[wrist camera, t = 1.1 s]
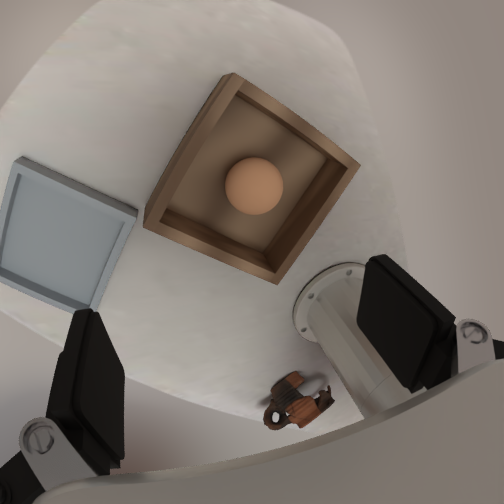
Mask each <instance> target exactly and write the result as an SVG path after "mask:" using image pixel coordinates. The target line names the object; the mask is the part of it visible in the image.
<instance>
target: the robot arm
mask: <svg viewBox="0 0 504 504" xmlns="http://www.w3.org/2000/svg"><path fill="white" fill-rule="evenodd" d="M455 318H456V317H455V316H454V315H453V314H452V313H451V312H450V311H449V310H448V309H446V308H445V307H444V306H443V305H442V304H441V303H440V302H439V301H438V300H437V299H436V298H435V297H434V296H432V295H431V294H430V293H429V292H428V291H427V290H426V289H425V288H424V287H423V286H422V285H420V284H419V283H418V282H417V281H416V280H415V279H413V277H411V276H410V275H409V274H408V273H407V272H406V271H405V270H404V269H402V268H401V267H400V266H399V265H398V264H397V263H395V262H394V261H393V260H392V259H391V258H390V257H388V256H387V255H386V254H382V255H378V256H373V257H371V258H370V259H369V262H367V263H366V265H365V266H363V265H360V264H357V263H346V264H340V265H337V266H334V267H332V268H330V269H328V270H326V271H324V272H322V273H321V274H320V275H318V276H317V277H315V278H314V279H313V280H312V281H311V282H310V283H309V284H308V285H307V286H306V288H305V289H304V290H303V291H302V293H301V294H300V296H299V298H298V299H297V302H296V304H295V307H294V312H293V321H294V324H295V327H296V329H297V331H298V333H299V334H300V335H301V336H302V337H303V338H305V339H306V340H308V341H311V342H316V343H319V344H320V346H321V347H322V349H323V351H324V352H325V354H326V356H327V357H328V359H329V361H330V362H331V364H332V366H333V367H334V369H335V371H336V372H337V374H338V376H339V377H340V379H341V380H342V382H343V384H344V385H345V387H346V389H347V390H348V392H349V394H350V395H351V397H352V399H353V400H354V402H355V404H356V405H357V407H358V409H359V410H360V412H361V414H362V415H363V417H364V420H361V421H359V422H356V423H354V424H351V425H349V426H346V427H343V428H341V429H338V430H335V431H332V432H329V433H326V434H324V435H321V436H318V437H315V438H311V439H308V440H305V441H302V442H299V443H296V444H292V445H288V446H285V447H282V448H278V449H274V450H270V451H266V452H262V453H258V454H254V455H250V456H245V457H241V458H236V459H232V460H226V461H221V462H216V463H210V464H204V465H198V466H191V467H184V468H176V469H169V470H160V471H151V472H140V473H127V474H116V475H110V469H113V468H120V460H123V459H124V456H125V453H124V384H125V373H124V369H123V366H122V364H121V362H120V360H119V358H118V355H117V353H116V351H115V349H114V347H113V345H112V342H111V340H110V338H109V336H108V333H107V331H106V329H105V326H104V324H103V322H102V319H101V317H100V315H99V313H98V312H94V311H93V310H92V309H91V308H88V309H81V310H76V311H75V312H74V314H73V318H72V321H71V325H70V328H69V332H68V335H67V339H66V342H65V346H64V350H63V352H61V353H60V355H59V358H58V361H57V365H56V369H55V373H54V378H53V382H52V387H51V391H50V396H49V401H48V406H47V412H46V417H45V418H44V417H39V418H34V419H32V420H31V421H29V422H28V423H27V424H26V425H25V426H24V427H23V428H22V430H21V432H20V436H19V446H20V449H21V451H20V452H18V453H17V454H16V455H15V456H14V457H13V458H11V459H10V460H9V461H8V462H7V463H6V464H4V465H3V466H2V467H1V468H0V504H504V342H502V341H498V340H494V339H492V336H491V333H490V330H489V329H488V328H487V327H486V326H485V325H484V324H483V323H481V322H479V321H477V320H474V319H464V320H461V321H460V322H459V323H458V324H457V326H456V325H455V324H454V321H455Z"/></svg>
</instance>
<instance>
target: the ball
mask: <svg viewBox="0 0 504 504" xmlns="http://www.w3.org/2000/svg"><path fill="white" fill-rule="evenodd" d="M225 191H226V195H227V198H228V200H229V201H230V203H231V204H232V205H233V206H234V207H235V208H236V209H237V210H239V211H240V212H243V213H245V214H250V215H259V214H263V213H266V212H268V211H270V210H271V209H272V208H274V207H275V206H276V205H277V203H278V202H279V200H280V198H281V196H282V193H283V180H282V176H281V174H280V172H279V170H278V169H277V168H276V167H275V166H274V165H273V164H272V163H271V162H269V161H267V160H265V159H262V158H256V157H251V158H246V159H243V160H241V161H239V162H238V163H236V164H235V165H234V166H233V167H232V168H231V169H230V171H229V173H228V175H227V177H226V181H225Z"/></svg>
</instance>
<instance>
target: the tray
mask: <svg viewBox="0 0 504 504" xmlns="http://www.w3.org/2000/svg"><path fill="white" fill-rule="evenodd" d="M137 213H138V210H137V209H135V208H132V207H130V206H128V205H126V204H124V203H121V202H119V201H117V200H115V199H113V198H111V197H108V196H106V195H104V194H102V193H100V192H98V191H95V190H93V189H91V188H89V187H87V186H85V185H82V184H80V183H78V182H76V181H74V180H72V179H69V178H67V177H65V176H63V175H61V174H59V173H57V172H54V171H52V170H50V169H48V168H46V167H44V166H42V165H39V164H37V163H35V162H33V161H31V160H29V159H27V158H24V157H20V158H19V159H17V160H15V161H14V162H13V165H12V168H11V172H10V175H9V178H8V182H7V186H6V189H5V193H4V197H3V201H2V205H1V210H0V282H2V283H4V284H6V285H8V286H10V287H12V288H14V289H16V290H18V291H20V292H23V293H25V294H27V295H29V296H31V297H34V298H36V299H38V300H41V301H43V302H45V303H48V304H50V305H52V306H55V307H57V308H59V309H62V310H64V311H67V312H69V313H72V314H74V312H75V311H76V310H81V309H88V308H91V309H92V310H93V311H94V312H96V310H97V308H98V305H99V303H100V300H101V297H102V295H103V293H104V290H105V288H106V285H107V283H108V280H109V278H110V276H111V273H112V271H113V269H114V266H115V264H116V262H117V259H118V257H119V255H120V253H121V250H122V248H123V246H124V244H125V242H126V240H127V237H128V235H129V233H130V231H131V229H132V227H133V225H134V223H135V221H136V219H137Z"/></svg>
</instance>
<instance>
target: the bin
mask: <svg viewBox="0 0 504 504" xmlns="http://www.w3.org/2000/svg"><path fill="white" fill-rule="evenodd" d="M251 157H256V158H262V159H265V160H267V161H269V162H271V163H272V164H273V165H274V166H275V167H276V168H277V169H278V170H279V172H280V174H281V176H282V180H283V193H282V196H281V198H280V200H279V202H278V203H277V205H276V206H275V207H274V208H272V209H271V210H270V211H268V212H266V213H263V214H259V215H250V214H245V213H243V212H240V211H239V210H237V209H236V208H235V207H234V206H233V205H232V204H231V203H230V201H229V200H228V198H227V195H226V191H225V181H226V177H227V175H228V173H229V171H230V169H231V168H232V167H233V166H234V165H235V164H236V163H238V162H239V161H241V160H243V159H246V158H251ZM360 166H361V165H360V164H359V163H358V162H357V161H355V160H354V159H353V158H352V157H351V156H349V155H348V154H347V153H346V152H345V151H343V150H342V149H341V148H340V147H338V146H337V145H336V144H335V143H334V142H332V141H331V140H330V139H328V138H327V137H326V136H325V135H323V134H322V133H321V132H319V131H318V130H317V129H316V128H314V127H313V126H312V125H310V124H309V123H308V122H306V121H305V120H304V119H302V118H301V117H300V116H298V115H297V114H295V113H294V112H293V111H291V110H290V109H288V108H287V107H286V106H284V105H283V104H281V103H280V102H278V101H277V100H276V99H274V98H273V97H271V96H270V95H268V94H267V93H265V92H264V91H262V90H261V89H259V88H258V87H256V86H255V85H253V84H252V83H250V82H248V81H247V80H245V79H244V78H242V77H241V76H239V75H237V74H236V73H231V74H227V75H223V77H222V78H221V80H220V81H219V82H218V84H217V85H216V87H215V88H214V90H213V91H212V93H211V94H210V96H209V98H208V99H207V101H206V102H205V104H204V105H203V107H202V108H201V110H200V112H199V113H198V115H197V116H196V118H195V120H194V121H193V123H192V124H191V126H190V128H189V129H188V131H187V133H186V134H185V136H184V138H183V139H182V141H181V143H180V144H179V146H178V148H177V150H176V151H175V153H174V155H173V157H172V158H171V160H170V162H169V164H168V165H167V167H166V169H165V171H164V173H163V174H162V176H161V178H160V180H159V182H158V184H157V186H156V187H155V189H154V191H153V193H152V195H151V197H150V199H149V201H148V203H147V205H146V207H145V212H144V220H143V228H146V229H148V230H150V231H152V232H155V233H157V234H159V235H161V236H164V237H166V238H168V239H170V240H173V241H175V242H177V243H180V244H182V245H184V246H186V247H189V248H191V249H193V250H196V251H198V252H200V253H203V254H205V255H207V256H210V257H212V258H214V259H217V260H219V261H221V262H224V263H226V264H228V265H231V266H233V267H235V268H238V269H240V270H242V271H245V272H247V273H249V274H252V275H254V276H256V277H259V278H261V279H264V280H266V281H268V282H271V283H273V284H276V285H278V284H279V282H280V281H281V279H282V278H283V277H284V275H285V274H286V273H287V271H288V270H289V268H290V267H291V266H292V264H293V263H294V261H295V260H296V259H297V257H298V256H299V254H300V253H301V252H302V250H303V249H304V247H305V246H306V245H307V243H308V242H309V240H310V239H311V238H312V236H313V235H314V233H315V232H316V230H317V229H318V228H319V226H320V225H321V223H322V222H323V220H324V219H325V217H326V216H327V215H328V213H329V212H330V210H331V209H332V207H333V206H334V204H335V203H336V202H337V200H338V199H339V197H340V196H341V194H342V193H343V191H344V190H345V188H346V187H347V185H348V184H349V182H350V181H351V179H352V178H353V176H354V175H355V173H356V172H357V170H358V169H359V167H360Z"/></svg>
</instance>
